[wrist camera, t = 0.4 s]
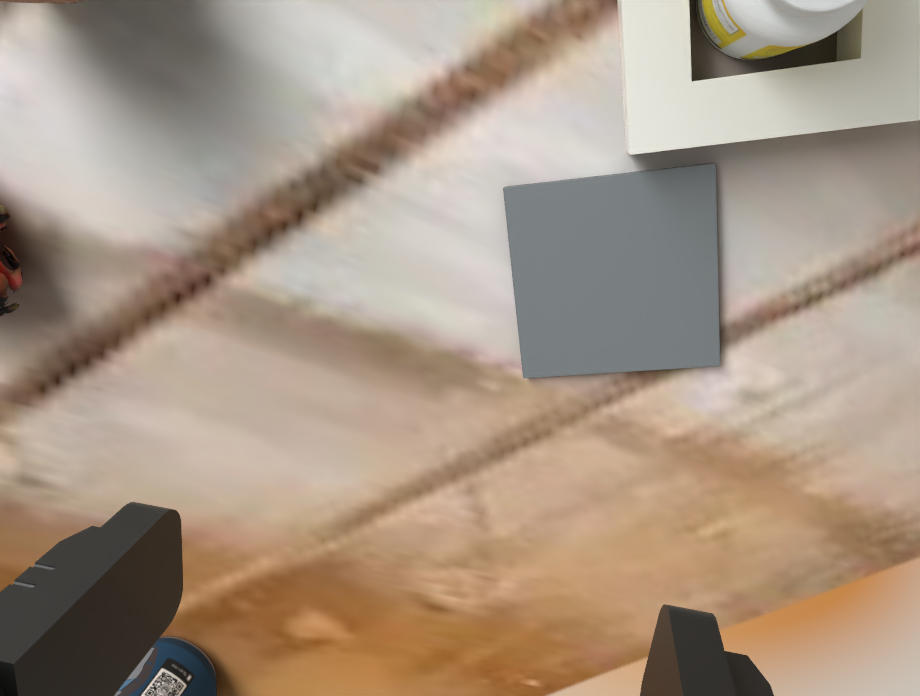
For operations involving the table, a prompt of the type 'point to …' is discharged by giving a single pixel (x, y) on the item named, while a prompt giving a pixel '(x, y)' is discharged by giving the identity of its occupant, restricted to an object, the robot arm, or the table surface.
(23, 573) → the robot arm
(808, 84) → the frame
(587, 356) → the rubber pad
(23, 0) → the coffee cup
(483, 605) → the table surface
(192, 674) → the soda can
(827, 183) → the table surface
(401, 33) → the table surface
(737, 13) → the supplement bottle
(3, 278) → the dragon fruit
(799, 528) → the table surface
